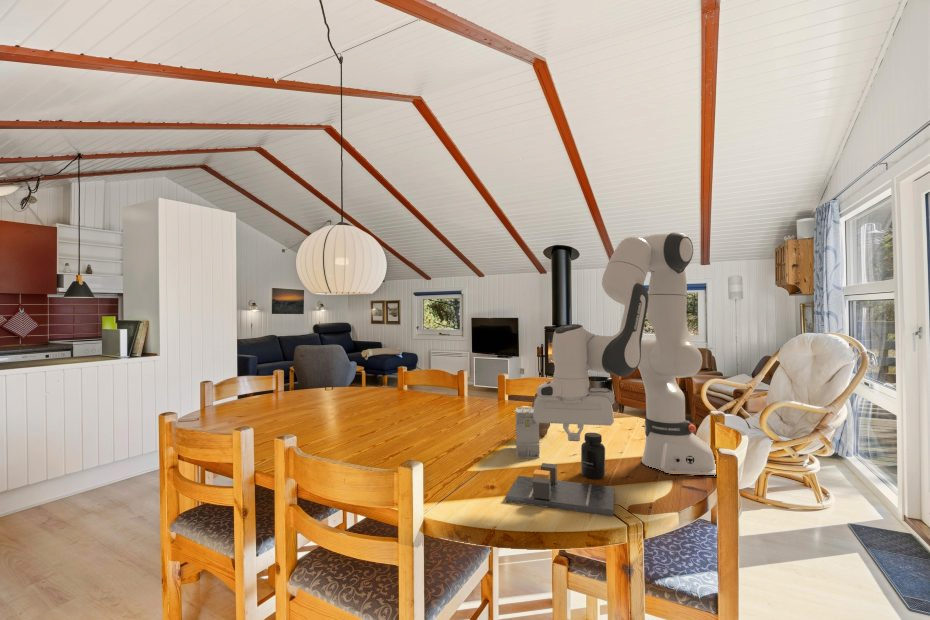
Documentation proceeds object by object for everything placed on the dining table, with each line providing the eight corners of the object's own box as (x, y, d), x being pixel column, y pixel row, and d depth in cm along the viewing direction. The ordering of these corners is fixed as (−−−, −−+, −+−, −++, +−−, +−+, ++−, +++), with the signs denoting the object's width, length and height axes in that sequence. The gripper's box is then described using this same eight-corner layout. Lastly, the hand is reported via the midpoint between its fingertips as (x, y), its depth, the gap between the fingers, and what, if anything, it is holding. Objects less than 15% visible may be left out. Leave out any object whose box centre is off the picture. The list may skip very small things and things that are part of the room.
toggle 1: (557, 478, 122) (556, 464, 122) (555, 482, 119) (555, 468, 119) (542, 477, 123) (542, 462, 123) (540, 481, 120) (540, 466, 120)
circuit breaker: (536, 444, 159) (536, 403, 159) (539, 458, 144) (538, 412, 144) (516, 444, 159) (515, 403, 159) (516, 457, 145) (516, 412, 145)
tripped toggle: (550, 486, 117) (550, 471, 117) (548, 490, 114) (548, 475, 114) (535, 484, 118) (535, 469, 118) (533, 488, 115) (533, 473, 115)
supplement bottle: (582, 479, 126) (582, 437, 126) (579, 470, 133) (579, 431, 133) (607, 480, 125) (606, 438, 125) (603, 471, 132) (602, 431, 132)
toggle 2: (551, 494, 111) (550, 479, 111) (549, 499, 109) (548, 483, 109) (535, 492, 113) (535, 477, 113) (533, 497, 110) (532, 481, 110)
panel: (614, 492, 117) (614, 486, 117) (613, 516, 103) (613, 508, 103) (518, 481, 125) (518, 475, 125) (506, 501, 112) (506, 494, 112)
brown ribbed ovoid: (544, 440, 163) (543, 392, 163) (527, 436, 169) (526, 390, 169) (557, 435, 170) (556, 389, 170) (540, 431, 175) (539, 386, 175)
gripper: (613, 385, 113) (616, 438, 113) (535, 384, 120) (537, 435, 120) (613, 390, 107) (616, 446, 107) (530, 389, 114) (533, 442, 114)
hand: (574, 440), depth 114 cm, fingers closed
